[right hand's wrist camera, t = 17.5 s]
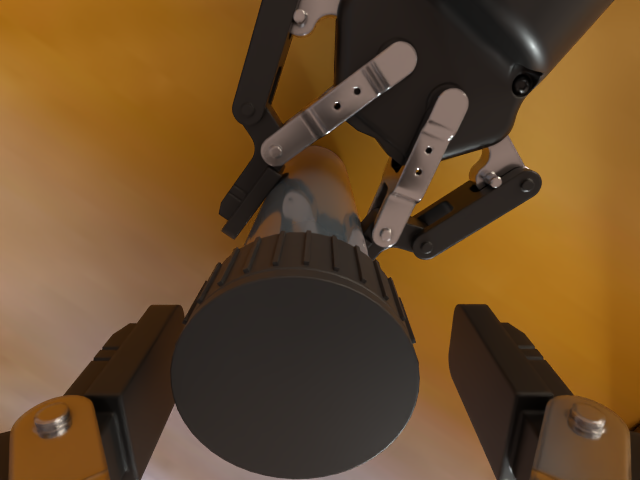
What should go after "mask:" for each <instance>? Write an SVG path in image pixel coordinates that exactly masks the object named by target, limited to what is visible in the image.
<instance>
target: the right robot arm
mask: <svg viewBox="0 0 640 480" xmlns="http://www.w3.org/2000/svg"><path fill="white" fill-rule="evenodd" d="M183 320H184V312H183V308H182V306H181V305H151V306H150V307H149V308H148V309H147V311H146V312H145V313H144V315H143V316H142V317H141V319H140V320H139V321H138V323H130V324H128V325H127V326H125V327H123V328H122V329H120V330H119V331H117V332H116V333H114V334H113V335H112V336H111V337H110V339H109V340H108V341H107V342H106V344H105V345H104V346H103V347H102V350H100V351H99V352H98V353H97V355H96V356H95V357H94V360H93V361H91V362H90V363H89V365H88V366H87V367H86V368H85V369H84V371H83V372H82V373H81V374H80V376H79V377H78V378H77V379H76V381H75V382H74V383H73V384H72V386H71V387H70V388H69V389H68V390H67V392H66V393H65V394H64V395H63V396H60V397H56V398H53V399H50V400H47V401H45V402H42V403H40V404H38V405H36V406H35V407H33V408H31V409H30V410H28V411H27V412H26V413H24V414H23V415H22V416H21V417H20V418H19V419H18V420H17V421H16V422H15V424H14V425H13V427H12V429H11V431H8V432H4V433H0V480H141V478H142V476H143V473H144V471H145V469H146V467H147V464H148V462H149V460H150V458H151V455H152V453H153V451H154V449H155V447H156V444H157V442H158V440H159V438H160V435H161V433H162V431H163V429H164V426H165V424H166V422H167V420H168V417H169V415H170V413H171V411H172V409H173V406H174V404H175V401H174V398H173V393H172V388H171V378H170V368H171V361H172V355H173V352H174V349H175V343H176V341H177V339H178V337H179V335H180V334H181V332H182V330H183V328H184V326H185V324H182V322H183ZM449 369H450V373H451V377H452V379H453V381H454V384H455V386H456V388H457V390H458V393H459V395H460V397H461V400H462V402H463V404H464V406H465V409H466V411H467V413H468V415H469V418H470V420H471V422H472V424H473V427H474V429H475V431H476V434H477V436H478V438H479V440H480V443H481V445H482V447H483V449H484V452H485V454H486V456H487V458H488V461H489V463H490V465H491V468H492V470H493V472H494V474H495V477H496V479H497V480H640V433H638V432H633V431H629V429H628V427H627V425H626V424H625V422H624V421H623V420H622V419H621V418H620V417H619V416H618V415H617V414H616V413H614V412H613V411H612V410H610V409H609V408H607V407H605V406H604V405H602V404H600V403H598V402H595V401H593V400H590V399H587V398H584V397H580V396H574V395H573V394H572V392H571V391H570V390H569V389H568V387H567V386H566V385H565V384H564V382H563V381H562V380H561V379H560V377H559V376H558V375H557V374H556V372H555V371H554V370H553V369H552V367H551V366H550V365H549V364H548V362H547V361H546V360H543V356H542V355H541V354H540V352H539V351H538V350H537V349H535V346H534V345H533V344H532V343H531V341H530V340H529V339H528V338H527V336H526V335H525V334H524V333H523V332H521V331H520V330H518V329H517V328H515V327H513V326H512V325H510V324H509V323H500V321H499V320H498V319H497V317H496V316H495V315H494V313H493V312H492V311H491V309H490V308H489V307H488V305H486V304H458V305H456V307H455V310H454V316H453V324H452V332H451V340H450V348H449Z"/></svg>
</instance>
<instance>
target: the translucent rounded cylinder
mask: <svg viewBox="0 0 640 480" xmlns="http://www.w3.org/2000/svg"><path fill="white" fill-rule="evenodd" d="M284 165H285V166H286V167H285V169H284V172H283V174H282V177H281V178H280V179H279V181H278V182H277V183H276V185H275V186H274V187H273V189H272V190H271V191H270V192H269V193H268V195H267V197H266V198H265V200H264V202H263V204H262V207H261V209H260V211H259V213H258V215H257V218H256V220H255V222H254V224H253V226H252V228H251V231H250V233H249V235H248V237H247V239H246V242H245V244H244V246H245V245H247V244H249V243H251V242H253V241H255V238H256V237H259V236H260V237H261V238H264V237H267V236H271V235H274V234H280V232H281V231H285V233H287V232H307V230H311V233H317V234H322V235H326V236H331V237H332V235H335V236H337V239H339V240H342V241H344V242H346V243H348V244H350V245H352V246H354V247H355V245H357V246H359V247H360V251H362V252H363V253H365V254H366V255H367V256H368V257H369V253H368V249H367V246H366V242H365V238H364V234H363V230H362V227H361V223H360V219H359V215H358V211H357V208H356V204H355V200H354V196H353V193H352V189H351V185H350V181H349V177H348V174H347V170H346V167H345V165H344V163H343V162H342V160H341V159H340V158H339V157H338V156H337V155H336V154H335V153H334V152H332V151H331V150H329V149H327V148H324V147H320V146H308V147H307V148H305V149H304V150H303V151H301V152H300V153H299V154H297V155H296V156H295V157H293V158H292V159H291V160H289V161H288V162H286V163H285V164H284ZM244 246H243V247H244Z"/></svg>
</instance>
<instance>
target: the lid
mask: <svg viewBox="0 0 640 480" xmlns="http://www.w3.org/2000/svg"><path fill="white" fill-rule="evenodd" d="M182 324H185V326H184V328H183V330H182V332H181V334H180V335H179V337H178V339H177V341H176V343H175V349H174V352H173V355H172V361H171V368H170V378H171V388H172V393H173V398H174V401H175V404H176V407H177V409H178V411H179V413H180V415H181V417H182V419H183V421H184V423H185V424H186V425H187V427H188V428H189V429H190V431H191V432H192V433H193V435H194V436H195V437H196V438H197V439H198V440H199V441H200V442H201V443H202V444H203V445H204V446H206V447H207V448H208V449H209V450H210V451H212V452H213V453H215V454H216V455H218V456H219V457H221V458H222V459H224V460H226V461H227V462H229V463H231V464H233V465H235V466H237V467H240V468H243V469H245V470H248V471H250V472H254V473H258V474H261V475H265V476H271V477H276V478H286V479H310V478H319V477H325V476H330V475H334V474H338V473H341V472H344V471H347V470H350V469H353V468H355V467H357V466H359V465H362V464H364V463H365V462H367V461H369V460H370V459H372V458H374V457H375V456H377V455H378V454H379V453H381V452H382V451H383V450H385V449H386V448H387V447H388V446H389V445H390V444H391V443H392V442H393V441H394V440H395V439H396V438H397V437H398V436H399V434H400V433H401V432H402V431H403V429H404V428H405V426H406V424H407V423H408V421H409V419H410V417H411V415H412V413H413V410H414V408H415V405H416V401H417V397H418V392H419V380H420V376H419V362H418V359H417V356H416V353H415V350H414V347H413V343H416V341H415V338H414V335H413V332H412V329H411V327H410V324H409V321H408V318H407V315H406V312H405V310H404V307H403V304H402V301H401V298H400V297H398V294H397V292H396V289H395V286H394V283H393V280H392V278H391V277H390V278H387V277H386V275H385V273H384V272H383V271H382V270H381V268H380V265H379V262H378V261H377V260H376V259H375V260H374V261H373V260H372V259H371V258H370V257H368V256H367V255H366V254H365V253H363V252H362V251H360V247H359V246H357V245H355V247H354V246H352V245H350V244H348V243H346V242H344V241H342V240H339V239H337V236H335V235H332V237H331V236H326V235H322V234H317V233H311V230H307V232H287V233H285V231H281V232H280V234H274V235H271V236H267V237H264V238H261V237H260V236H259V237H256V238H255V241H253V242H251V243H249V244H247V245H245V246H244V247H242V248H240V249H239V248H238V247H237V248H235V249H234V250H233V252H232V254H231V256H229V257H228V258H227V259H226V260H225V261H224V262H223V263H222V264H221V263H218V264H217V265H216V267H215V269H214V270H213V272H212V274H211V276H210V278H209V279H208V281H205V283H204V285H203V286H202V288H201V290H200V292H199V294H198V295H197V297H196V299H195V301H194V302H193V304H192V306H191V308H190V309H189V311H188V313H187V315H186V317H185V318H184V320H183V322H182Z"/></svg>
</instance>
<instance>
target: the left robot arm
mask: <svg viewBox="0 0 640 480" xmlns="http://www.w3.org/2000/svg"><path fill="white" fill-rule="evenodd" d="M613 1H614V0H262V2H261V6H260V9H259V13H258V17H257V20H256V24H255V27H254V31H253V34H252V38H251V41H250V45H249V49H248V52H247V56H246V59H245V63H244V66H243V70H242V73H241V77H240V80H239V84H238V88H237V91H236V95H235V98H234V102H233V106H232V112H233V115H234V117H235V119H236V120H237V121H238V122H239V123H241V124H243V126H244V127H245V129H246V130H247V132H248V133H249V135H250V136H251V138H252V139H253V142H254V145H255V152H254V156H253V158H252V160H251V161H250V162H249V164H248V165H247V167H246V168H245V169H244V171H243V172H242V174H241V175H240V176H239V178H238V179H237V181H236V182H235V184H234V185H233V186H232V188H231V189H230V191H229V192H228V193H227V195H226V196H225V198H224V199H223V201H222V202H221V206H220V210H219V214H220V215H221V216H222V217H224V218H225V219H227V220H228V221H227V222H226V224H225V225H224V227H223V229H222V230H221V231H222V232H223V233H225V234H226V235H228V236H229V237H231V238H232V239H235V238H236V237H237V236H238V234H239V233H240V232H241V230H242V229H243V228H244V226H245V225H246V224H247V222H248V221H249V220H250V218H251V217H252V216H253V214H254V213H255V212H256V210H257V209H258V207H259V206H260V205H261V203H262V202H263V201H264V199H265V198H266V197H267V195H268V193H269V192H270V191H271V190H272V189H273V187H274V186H275V185H276V183H277V182H278V181H279V179H280V178H281V177H282V174H283V172H284V169H285V167H286V166H285V165H284V164H285V163H286V162H288V161H289V160H291V159H292V158H293V157H295V156H296V155H297V154H299V153H300V152H301V151H303V150H304V149H305V148H307V147H308V146H309V145H311V144H312V143H313V142H315V141H316V140H318V139H319V138H322V137H323V136H325V135H326V134H328V133H329V132H331V131H332V130H333V129H335V128H336V127H337V126H339V125H340V124H342V123H343V122H344V121H346V122H348V123H349V124H350V125H351V126H353V127H354V128H355V129H356V130H358V131H360V132H362V133H364V134H367V135H369V136H371V137H374V138H375V139H376V140H377V142H378V143H379V145H380V146H381V147H382V148H383V150H384V151H385V152H386V153H387V154H388V155H389V156H390V157H389V160H388V162H387V164H386V167H385V169H384V172H383V175H382V181H381V184H380V186H379V188H378V190H377V193H376V195H375V197H374V200H373V202H372V204H371V206H370V209H369V211H368V213H367V216H366V217H365V218H364V220H363V221H362V222H360V223H361V227H362V230H363V234H364V238H365V242H366V246H367V249H368V253H369V257H370V258H371V259H372V260H373V261H374V259H375V258H376V257H377V256H378V255H379V254H380V253H381V252H382V251H383V250H385V249H388V248H393V247H395V248H400V249H404V250H407V251H410V252H414V254H415V255H416V256H417V257H418V258H420V259H423V260H428V259H431V258H433V257H435V256H437V255H438V254H440V253H442V252H443V251H445V250H447V249H448V248H450V247H451V246H453V245H455V244H456V243H458V242H460V241H461V240H463V239H465V238H466V237H468V236H469V235H471V234H473V233H474V232H476V231H478V230H479V229H481V228H483V227H484V226H486V225H487V224H489V223H491V222H492V221H494V220H496V219H497V218H499V217H501V216H502V215H504V214H505V213H507V212H509V211H510V210H512V209H514V208H515V207H517V206H519V205H520V204H522V203H523V202H525V201H527V200H528V199H530V198H532V197H533V196H535V195H536V194H537V193H538V192H539V190H540V188H541V185H542V180H541V177H540V175H539V174H538V173H536V172H535V171H532V170H530V169H529V168H527V167H526V166H525V165H524V164H523V162H522V160H521V158H520V156H519V154H518V153H517V151H516V149H515V147H514V145H513V143H512V141H511V140H510V138H509V136H508V134H509V133H510V131H511V129H512V128H513V125H514V122H515V119H516V115H517V112H518V110H519V108H520V105H521V104H522V102H523V100H524V99H525V97H526V96H527V95H528V94H529V93H530V92H531V91H532V90H533V89H534V88H535V87H536V86H537V85H538V84H539V83H540V82H541V81H542V80H543V79H544V78H545V77H546V76H547V75H548V74H549V73H550V72H551V70H552V69H553V68H554V67H555V66H556V65H557V64H558V63H559V61H560V60H561V59H562V58H563V57H564V56H565V55H566V54H567V53H568V51H569V50H570V49H571V48H572V47H573V46H574V45H575V44H576V42H577V41H578V40H579V39H580V38H581V37H582V36H583V35H584V33H585V32H586V31H587V30H588V29H589V28H590V27H591V26H592V24H593V23H594V22H595V21H596V20H597V19H598V18H599V17H600V16H601V14H602V13H603V12H604V11H605V10H606V9H607V8H608V6H609V5H610V4H611V3H612V2H613ZM325 18H335V19H336V30H335V59H334V85H333V86H331V87H330V88H329V89H327V90H326V91H325V92H324V93H322V94H321V95H320V96H318V97H317V98H316V99H314V100H313V101H312V102H311V103H309V104H308V105H307V106H306V107H304V108H303V109H302V110H301V111H299V112H298V113H297V114H295V115H294V116H293V117H292V118H290V119H289V120H288V121H286V122H285V123H284V124H283V123H282V122H281V120H280V119H279V117H278V116H277V114H276V113H275V111H274V110H273V108H272V107H271V104H272V101H273V98H274V95H275V92H276V88H277V85H278V82H279V79H280V76H281V72H282V69H283V66H284V63H285V60H286V56H287V53H288V50H289V47H290V44H291V40H292V37H293V36H295V37H298V38H305V37H308V36H309V35H311V34H312V32H313V31H314V29H315V27H316V25H317V24H318V23H319V22H320V21H321V20H323V19H325ZM480 149H482V155H481V158H480V159H479V161H478V162H477V163H476V164H475V165H473V167H472V168H471V170H470V172H469V179H470V180H469V181H467V182H466V183H464V184H463V185H461V186H460V187H458V188H457V189H455V190H453V191H452V192H450V193H449V194H447V195H446V196H444V197H443V198H441V199H439V200H438V201H436V202H435V203H433V204H432V205H430V206H428V207H427V208H425V209H424V210H422V211H421V212H419V213H418V214H416V215H414V216H413V217H411V216H410V215H411V213H412V210H413V208H414V207H415V205H416V204H417V203H419V202H420V201H421V199H422V198H423V196H424V194H425V192H426V190H427V188H428V186H429V184H430V182H431V180H432V178H433V175H434V173H435V171H436V169H437V167H438V165H439V163H440V161H443V160H446V159H449V158H453V157H456V156H460V155H463V154H467V153H470V152H473V151H477V150H480ZM417 169H419V171H418V172H416V170H417ZM633 432H638V433H640V425H639V426H638V427H637V428H636V429H635V430H634V431H633Z"/></svg>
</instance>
